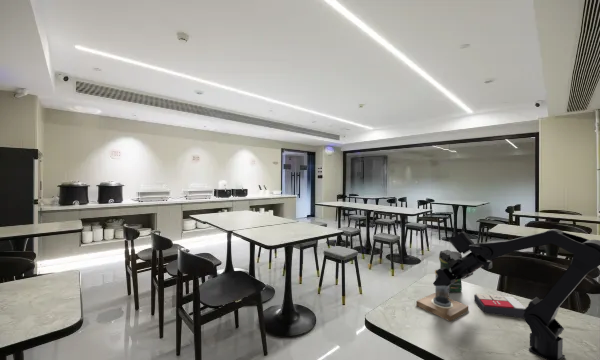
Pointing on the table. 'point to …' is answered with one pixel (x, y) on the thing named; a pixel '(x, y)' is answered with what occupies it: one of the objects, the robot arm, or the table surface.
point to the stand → (442, 308)
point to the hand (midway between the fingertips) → (440, 282)
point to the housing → (442, 295)
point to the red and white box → (500, 305)
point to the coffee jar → (457, 285)
